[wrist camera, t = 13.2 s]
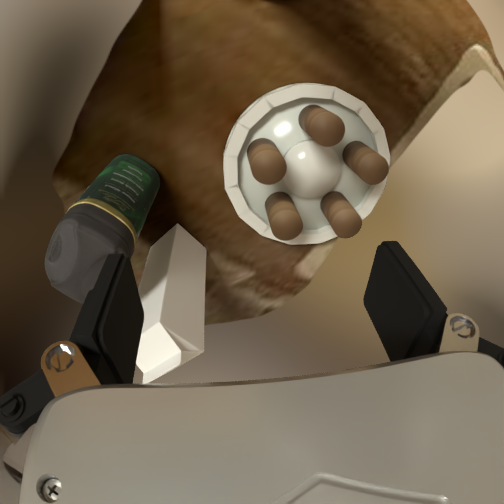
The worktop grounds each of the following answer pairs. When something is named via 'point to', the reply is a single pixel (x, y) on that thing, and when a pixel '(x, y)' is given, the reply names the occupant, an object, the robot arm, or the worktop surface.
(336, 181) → the groove tray
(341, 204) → the brown round peg
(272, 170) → the brown cylinder
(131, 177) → the coffee jar
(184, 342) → the milk
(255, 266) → the worktop surface
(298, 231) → the seated bead
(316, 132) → the tan rounded cylinder
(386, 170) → the brown round peg
